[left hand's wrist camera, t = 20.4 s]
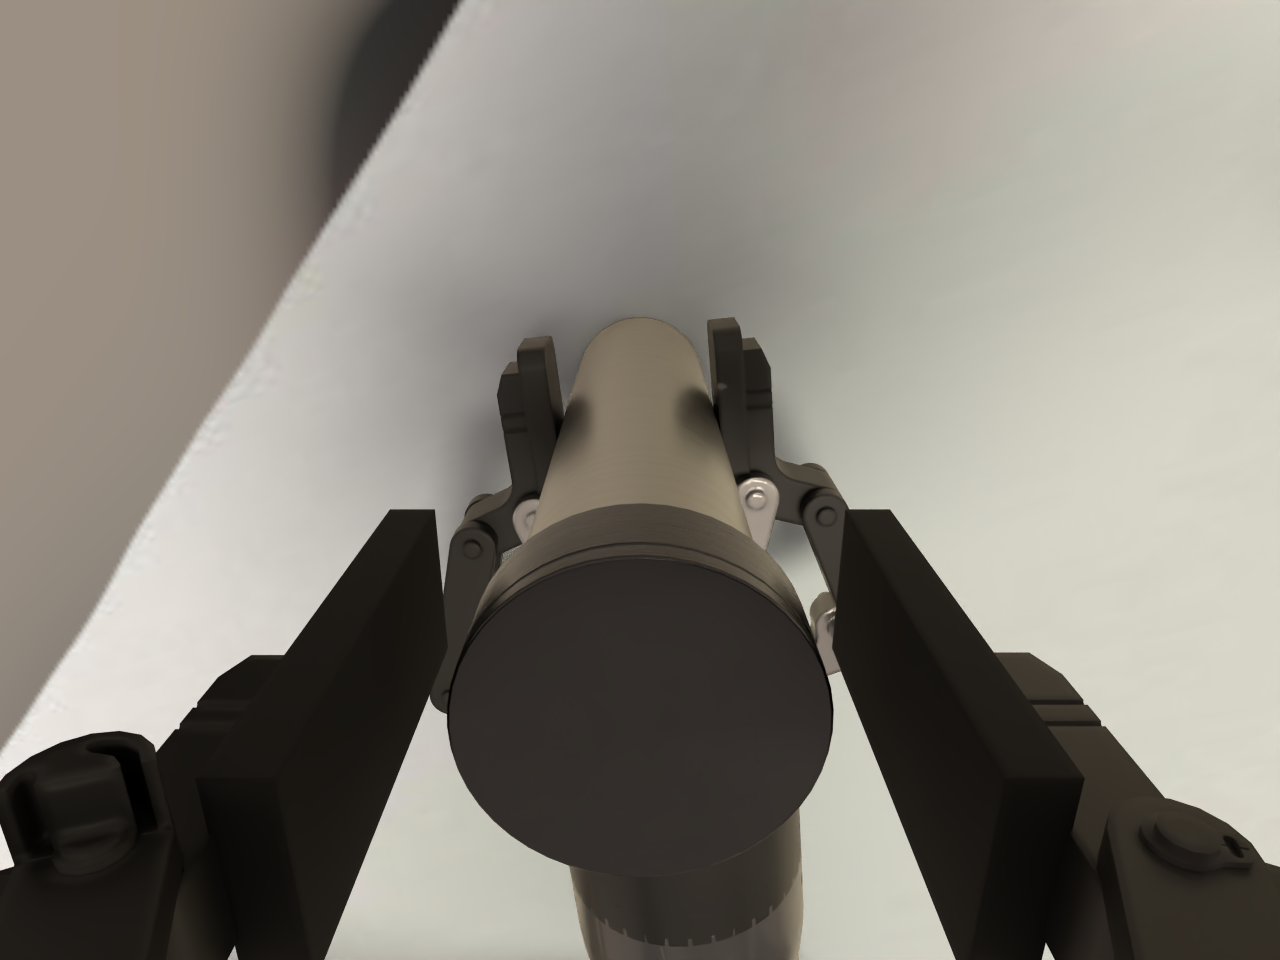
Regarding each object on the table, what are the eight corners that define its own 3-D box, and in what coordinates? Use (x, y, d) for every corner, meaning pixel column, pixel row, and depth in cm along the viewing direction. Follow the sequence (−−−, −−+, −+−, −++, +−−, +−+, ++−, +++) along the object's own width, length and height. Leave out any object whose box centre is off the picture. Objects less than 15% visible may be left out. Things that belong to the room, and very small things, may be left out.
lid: (460, 499, 11) (431, 554, 10) (823, 503, 11) (853, 558, 10) (481, 790, 13) (459, 876, 11) (795, 794, 13) (816, 879, 11)
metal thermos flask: (692, 443, 29) (765, 827, 12) (573, 430, 29) (480, 801, 12) (709, 325, 27) (819, 575, 11) (584, 310, 27) (495, 542, 10)
